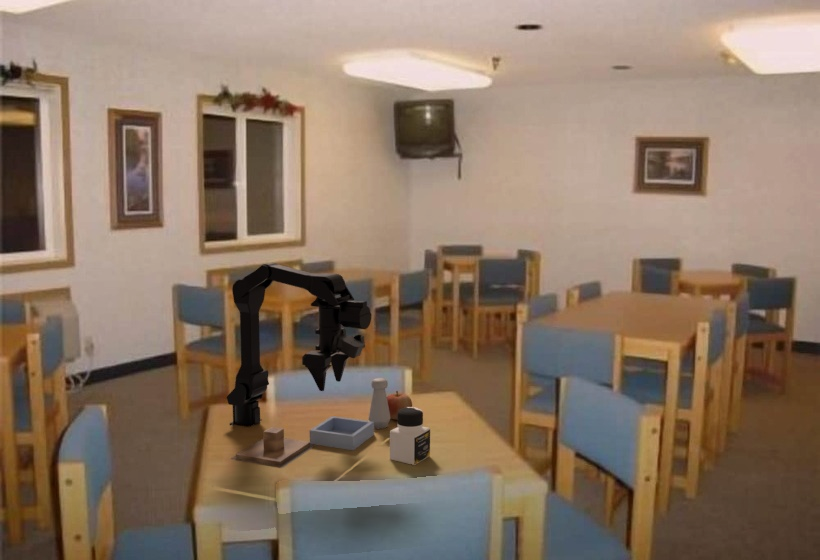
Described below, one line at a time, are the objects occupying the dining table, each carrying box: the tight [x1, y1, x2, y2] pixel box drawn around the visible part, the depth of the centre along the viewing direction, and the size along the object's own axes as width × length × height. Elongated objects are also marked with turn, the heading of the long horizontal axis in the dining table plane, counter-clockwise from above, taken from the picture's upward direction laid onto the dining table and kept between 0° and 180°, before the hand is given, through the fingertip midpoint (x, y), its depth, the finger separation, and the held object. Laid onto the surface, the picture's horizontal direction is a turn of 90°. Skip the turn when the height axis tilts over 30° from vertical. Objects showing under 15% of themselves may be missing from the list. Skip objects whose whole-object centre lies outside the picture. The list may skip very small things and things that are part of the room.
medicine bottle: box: [389, 406, 431, 466], centre depth 182 cm, size 7×7×12 cm
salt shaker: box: [368, 377, 391, 430], centre depth 204 cm, size 6×6×13 cm
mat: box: [231, 444, 315, 468], centre depth 184 cm, size 14×15×1 cm
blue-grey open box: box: [309, 415, 375, 451], centre depth 193 cm, size 12×12×4 cm
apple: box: [386, 390, 413, 421], centre depth 211 cm, size 8×8×8 cm
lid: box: [235, 426, 311, 466], centre depth 184 cm, size 12×14×6 cm
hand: (330, 385), depth 193 cm, fingers open, 9 cm apart
